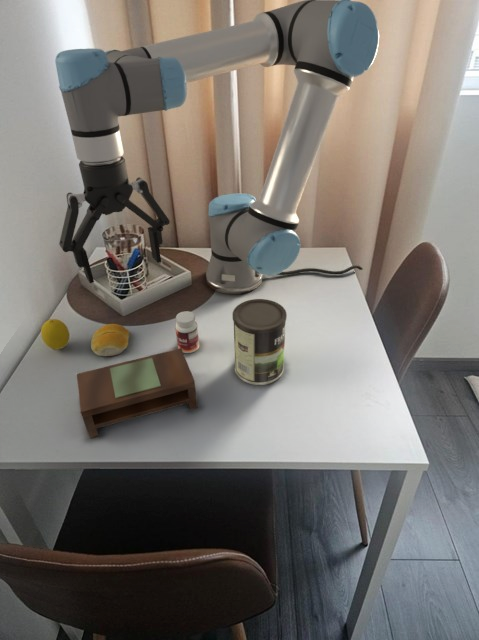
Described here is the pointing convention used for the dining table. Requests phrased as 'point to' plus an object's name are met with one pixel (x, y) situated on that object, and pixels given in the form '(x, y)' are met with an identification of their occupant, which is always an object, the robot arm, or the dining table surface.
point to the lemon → (55, 334)
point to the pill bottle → (187, 332)
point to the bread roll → (110, 340)
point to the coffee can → (259, 341)
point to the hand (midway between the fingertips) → (124, 269)
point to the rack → (135, 389)
